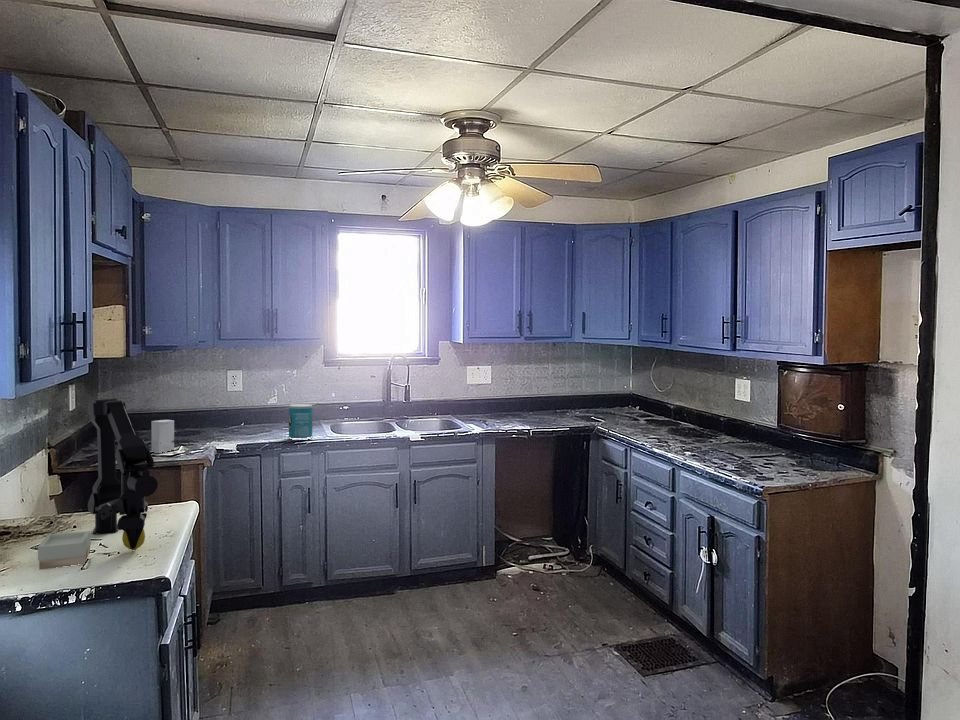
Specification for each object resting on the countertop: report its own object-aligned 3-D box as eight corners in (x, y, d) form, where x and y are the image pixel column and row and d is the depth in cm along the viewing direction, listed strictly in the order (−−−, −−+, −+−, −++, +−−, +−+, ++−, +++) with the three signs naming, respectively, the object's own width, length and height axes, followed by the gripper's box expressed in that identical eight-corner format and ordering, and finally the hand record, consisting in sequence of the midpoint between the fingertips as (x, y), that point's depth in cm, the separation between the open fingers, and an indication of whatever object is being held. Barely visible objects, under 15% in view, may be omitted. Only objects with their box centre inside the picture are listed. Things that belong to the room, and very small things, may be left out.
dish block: (48, 547, 182) (47, 534, 182) (90, 543, 186) (90, 530, 185) (38, 560, 173) (37, 546, 172) (82, 556, 176) (82, 542, 176)
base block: (47, 558, 182) (47, 547, 182) (90, 554, 186) (89, 543, 186) (39, 571, 173) (39, 560, 173) (84, 567, 177) (84, 555, 177)
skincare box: (159, 454, 313) (158, 422, 312) (150, 452, 316) (150, 420, 315) (175, 451, 320) (174, 419, 319) (166, 449, 323) (166, 418, 322)
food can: (283, 439, 355) (283, 405, 353) (298, 436, 366) (298, 402, 364) (302, 441, 350) (302, 407, 349) (316, 438, 361) (317, 404, 360)
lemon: (118, 551, 187) (118, 522, 186) (139, 546, 191) (138, 518, 191) (128, 555, 184) (128, 526, 183) (148, 550, 188) (148, 522, 187)
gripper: (103, 483, 192) (104, 537, 193) (95, 500, 175) (96, 560, 176) (147, 480, 196) (148, 533, 197) (143, 496, 179) (144, 555, 180)
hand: (133, 545), depth 187 cm, fingers closed on lemon, 5 cm apart
